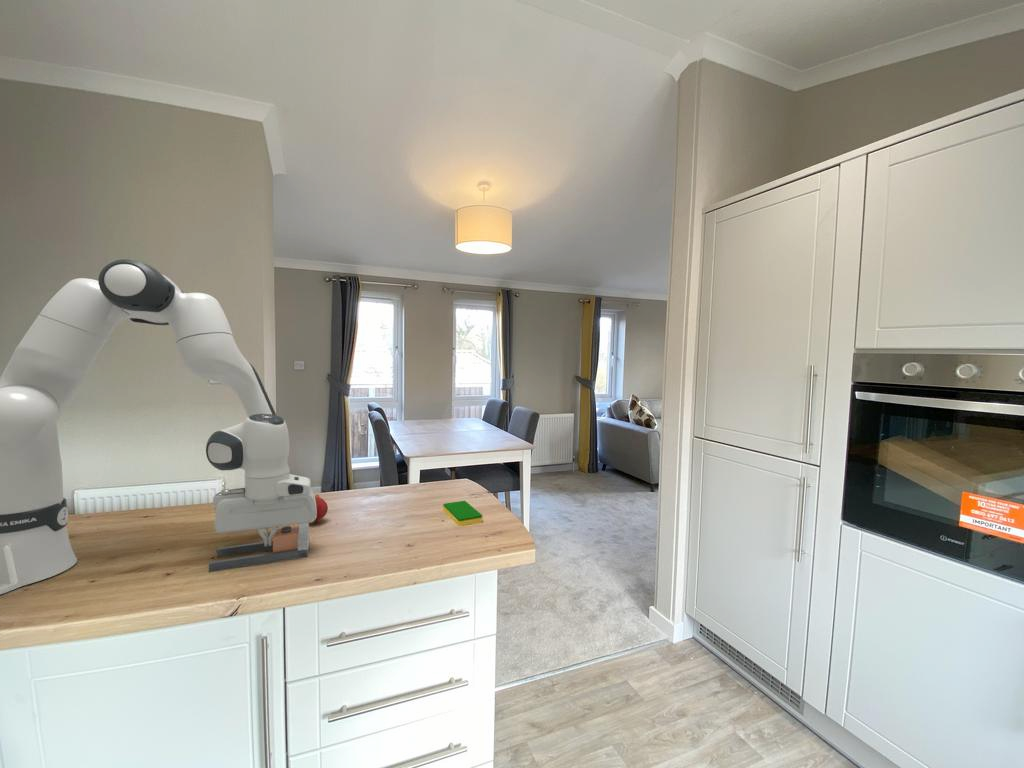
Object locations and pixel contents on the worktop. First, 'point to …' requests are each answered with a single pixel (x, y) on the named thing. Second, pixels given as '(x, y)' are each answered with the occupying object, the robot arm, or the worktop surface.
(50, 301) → the robot arm
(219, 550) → the rail
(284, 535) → the block
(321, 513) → the onion
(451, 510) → the dish sponge
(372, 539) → the worktop surface
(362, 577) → the worktop surface
